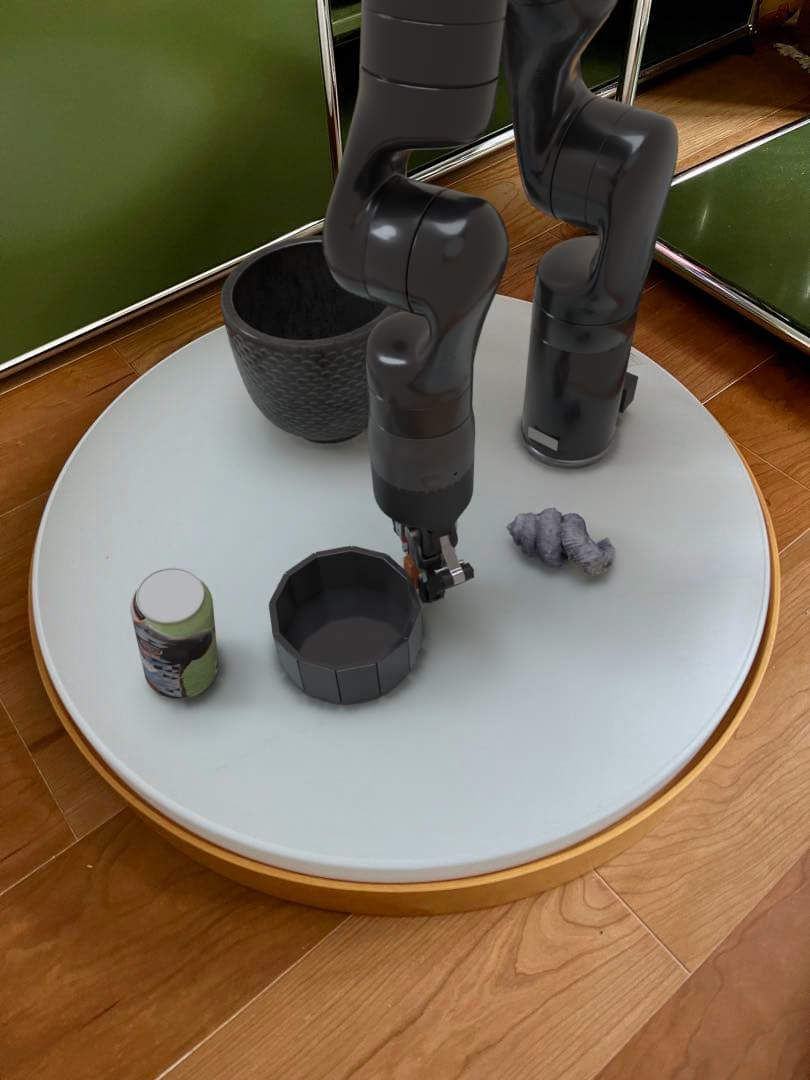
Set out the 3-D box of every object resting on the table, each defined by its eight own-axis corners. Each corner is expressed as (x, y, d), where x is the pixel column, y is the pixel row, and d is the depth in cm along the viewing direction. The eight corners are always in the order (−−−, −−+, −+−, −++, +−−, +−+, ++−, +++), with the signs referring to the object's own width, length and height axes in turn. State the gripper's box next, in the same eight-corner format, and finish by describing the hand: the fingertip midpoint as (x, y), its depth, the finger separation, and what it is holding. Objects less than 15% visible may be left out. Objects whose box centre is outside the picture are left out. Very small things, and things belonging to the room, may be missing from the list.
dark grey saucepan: (389, 541, 83) (385, 491, 78) (479, 620, 77) (482, 572, 72) (252, 638, 77) (237, 591, 72) (339, 732, 71) (330, 688, 66)
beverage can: (152, 645, 77) (111, 561, 68) (237, 638, 77) (208, 552, 68) (145, 711, 73) (101, 630, 64) (235, 702, 73) (204, 621, 64)
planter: (299, 346, 102) (278, 219, 89) (438, 385, 97) (436, 256, 84) (218, 446, 92) (182, 319, 80) (368, 495, 87) (354, 368, 75)
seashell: (612, 573, 82) (506, 550, 84) (624, 516, 80) (516, 495, 83) (608, 588, 77) (494, 563, 79) (620, 527, 75) (505, 504, 78)
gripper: (514, 497, 61) (501, 633, 74) (429, 375, 69) (432, 518, 82) (413, 534, 59) (419, 666, 73) (338, 404, 67) (357, 546, 81)
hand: (426, 587), depth 77 cm, fingers closed, pressing on dark grey saucepan
